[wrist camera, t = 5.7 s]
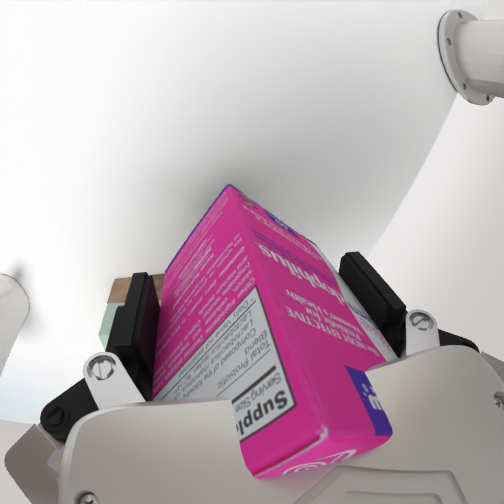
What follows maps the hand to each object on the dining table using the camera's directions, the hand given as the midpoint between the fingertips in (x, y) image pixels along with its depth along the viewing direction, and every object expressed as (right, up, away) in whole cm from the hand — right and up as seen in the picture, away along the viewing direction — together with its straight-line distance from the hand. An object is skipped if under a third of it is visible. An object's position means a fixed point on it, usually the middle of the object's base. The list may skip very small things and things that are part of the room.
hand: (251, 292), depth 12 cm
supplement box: (-1, +2, +3) cm, 3 cm away
